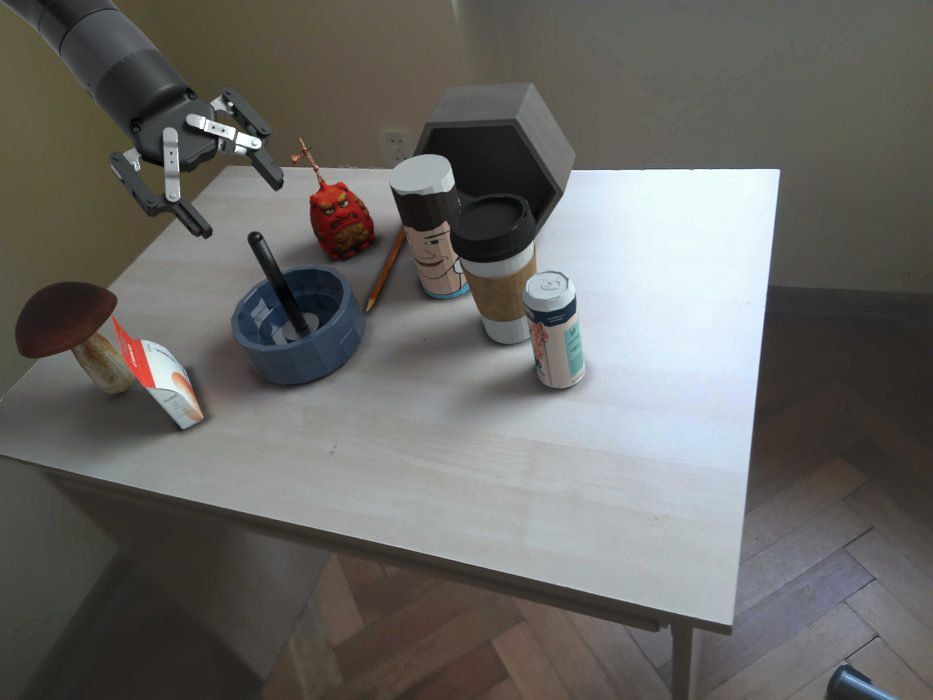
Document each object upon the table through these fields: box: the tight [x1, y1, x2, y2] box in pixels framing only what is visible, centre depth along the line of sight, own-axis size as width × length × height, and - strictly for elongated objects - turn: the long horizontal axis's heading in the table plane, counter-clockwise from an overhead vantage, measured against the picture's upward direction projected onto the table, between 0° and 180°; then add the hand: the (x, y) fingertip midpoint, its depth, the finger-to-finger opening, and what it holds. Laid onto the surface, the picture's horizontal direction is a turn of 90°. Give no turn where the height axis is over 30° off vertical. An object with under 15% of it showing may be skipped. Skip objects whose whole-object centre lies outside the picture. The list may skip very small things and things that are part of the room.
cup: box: [387, 154, 470, 300], centre depth 80 cm, size 7×7×15 cm
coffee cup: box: [449, 193, 538, 345], centre depth 72 cm, size 8×8×15 cm
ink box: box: [110, 313, 204, 430], centre depth 76 cm, size 3×9×12 cm, turn 30°
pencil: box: [366, 226, 407, 312], centre depth 89 cm, size 1×18×1 cm, turn 166°
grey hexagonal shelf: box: [412, 81, 577, 242], centre depth 83 cm, size 17×8×21 cm
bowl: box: [230, 263, 367, 385], centre depth 80 cm, size 14×14×6 cm
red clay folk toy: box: [290, 138, 376, 261], centre depth 89 cm, size 8×7×15 cm
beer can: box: [522, 269, 586, 389], centre depth 67 cm, size 5×5×12 cm
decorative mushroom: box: [14, 281, 136, 395], centre depth 78 cm, size 11×11×15 cm
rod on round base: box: [246, 230, 323, 343], centre depth 77 cm, size 4×4×15 cm
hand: (246, 209), depth 68 cm, fingers open, 8 cm apart
